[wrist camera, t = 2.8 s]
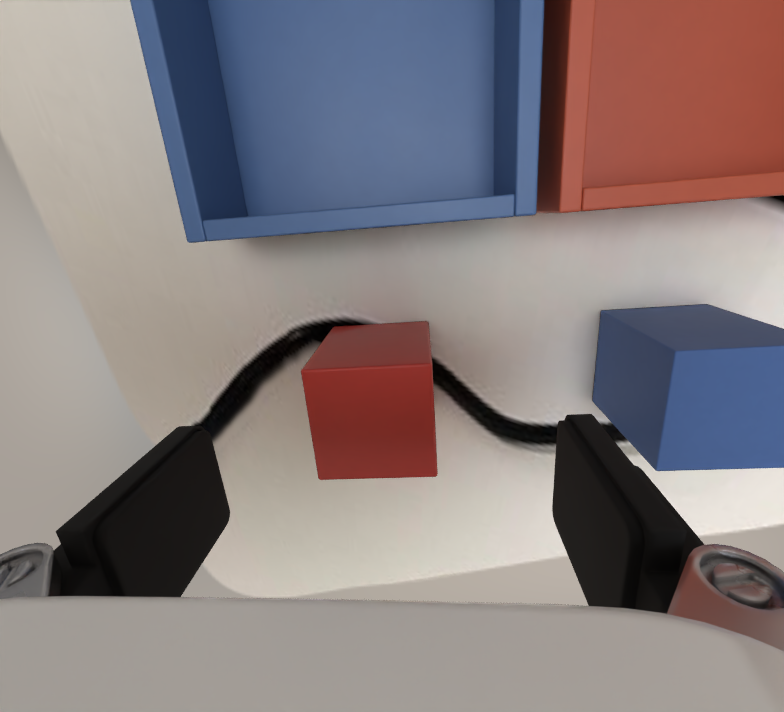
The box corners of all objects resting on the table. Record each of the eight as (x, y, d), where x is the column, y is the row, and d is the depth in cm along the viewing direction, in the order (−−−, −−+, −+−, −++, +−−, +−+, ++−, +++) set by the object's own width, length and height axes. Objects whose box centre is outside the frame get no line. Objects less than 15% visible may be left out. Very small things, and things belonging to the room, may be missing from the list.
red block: (344, 411, 18) (318, 480, 14) (332, 326, 17) (299, 370, 12) (432, 407, 18) (437, 477, 13) (428, 320, 17) (432, 363, 12)
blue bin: (242, 235, 16) (186, 243, 12) (160, -197, 12) (36, -390, 8) (506, 213, 15) (537, 214, 11) (514, -259, 11) (564, -511, 7)
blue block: (591, 401, 17) (655, 471, 13) (600, 310, 16) (675, 351, 11) (690, 397, 17) (793, 468, 12) (707, 303, 16) (830, 343, 11)
